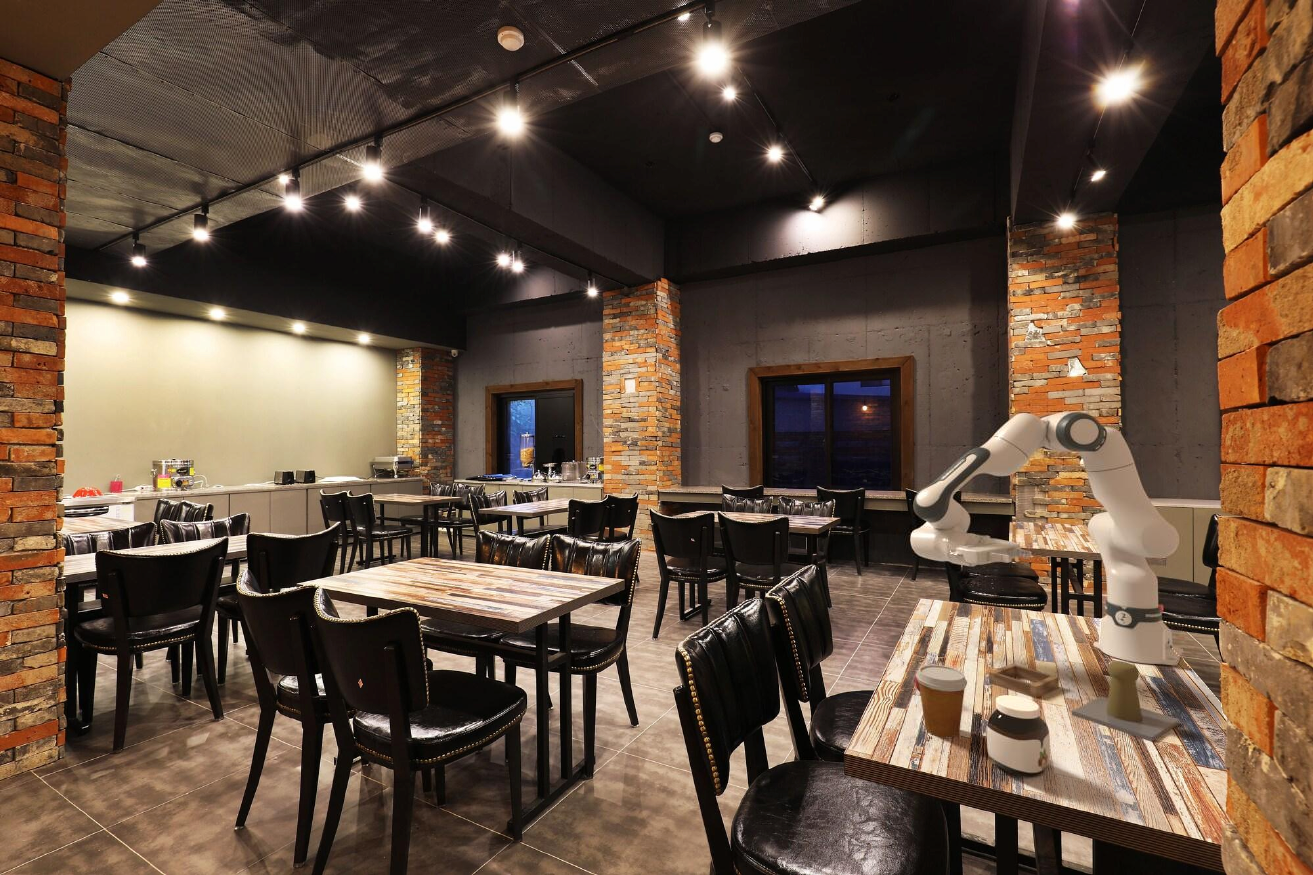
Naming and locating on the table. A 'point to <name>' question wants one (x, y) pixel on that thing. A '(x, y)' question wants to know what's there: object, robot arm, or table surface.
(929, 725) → the disposable coffee cup
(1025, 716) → the spread jar
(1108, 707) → the cork
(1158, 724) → the coaster
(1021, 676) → the square wooden frame
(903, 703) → the table surface
